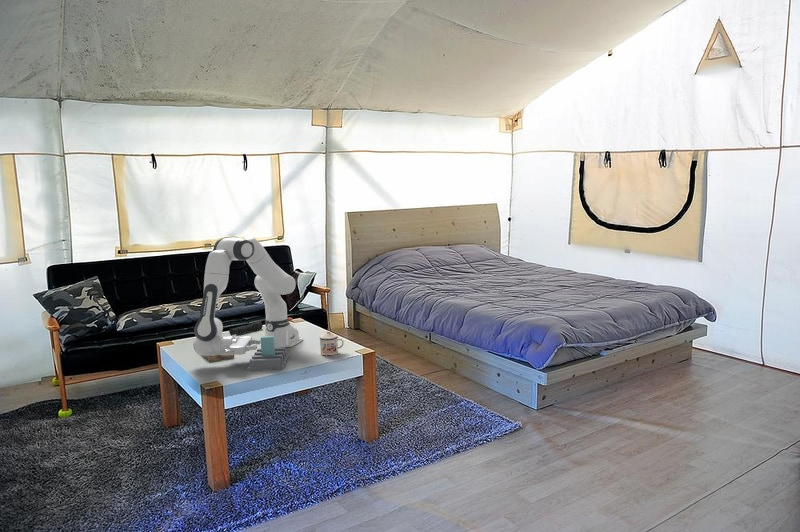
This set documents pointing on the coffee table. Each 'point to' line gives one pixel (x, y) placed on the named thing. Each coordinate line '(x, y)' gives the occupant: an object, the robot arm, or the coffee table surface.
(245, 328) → the flashlight
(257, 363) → the slotted rack
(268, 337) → the aqua rubber eraser
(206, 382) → the coffee table surface
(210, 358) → the block
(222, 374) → the coffee table surface
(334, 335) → the teacup with lid
